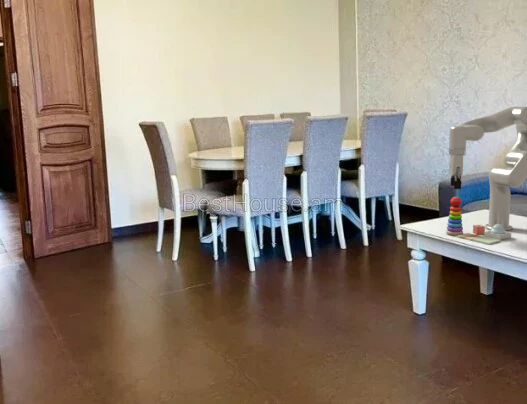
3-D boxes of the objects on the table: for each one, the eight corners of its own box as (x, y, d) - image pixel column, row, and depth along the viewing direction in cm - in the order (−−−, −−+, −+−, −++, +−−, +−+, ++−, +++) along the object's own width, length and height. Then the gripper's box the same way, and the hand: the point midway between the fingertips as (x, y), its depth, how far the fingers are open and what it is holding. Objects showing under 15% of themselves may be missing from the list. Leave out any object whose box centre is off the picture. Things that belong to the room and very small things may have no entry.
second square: (472, 241, 253) (472, 239, 253) (484, 238, 257) (484, 236, 257) (488, 244, 246) (488, 243, 246) (500, 241, 250) (500, 240, 250)
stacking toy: (442, 233, 268) (443, 196, 265) (453, 231, 272) (455, 194, 268) (455, 236, 261) (456, 198, 258) (466, 234, 265) (468, 196, 262)
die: (472, 232, 268) (473, 224, 267) (480, 232, 268) (481, 223, 267) (476, 234, 264) (477, 226, 263) (484, 234, 264) (485, 225, 263)
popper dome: (488, 234, 259) (488, 223, 258) (495, 232, 262) (496, 222, 261) (499, 237, 254) (499, 226, 253) (507, 235, 257) (507, 224, 256)
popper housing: (483, 237, 259) (484, 231, 259) (494, 234, 264) (495, 229, 263) (499, 240, 252) (500, 235, 252) (511, 237, 257) (511, 232, 256)
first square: (456, 237, 260) (456, 235, 260) (468, 234, 265) (468, 233, 265) (471, 240, 253) (472, 239, 253) (483, 238, 258) (483, 236, 258)
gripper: (446, 150, 268) (444, 184, 271) (452, 153, 251) (450, 190, 255) (462, 150, 267) (460, 184, 270) (469, 153, 250) (467, 190, 253)
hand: (455, 187), depth 262 cm, fingers open, 9 cm apart
